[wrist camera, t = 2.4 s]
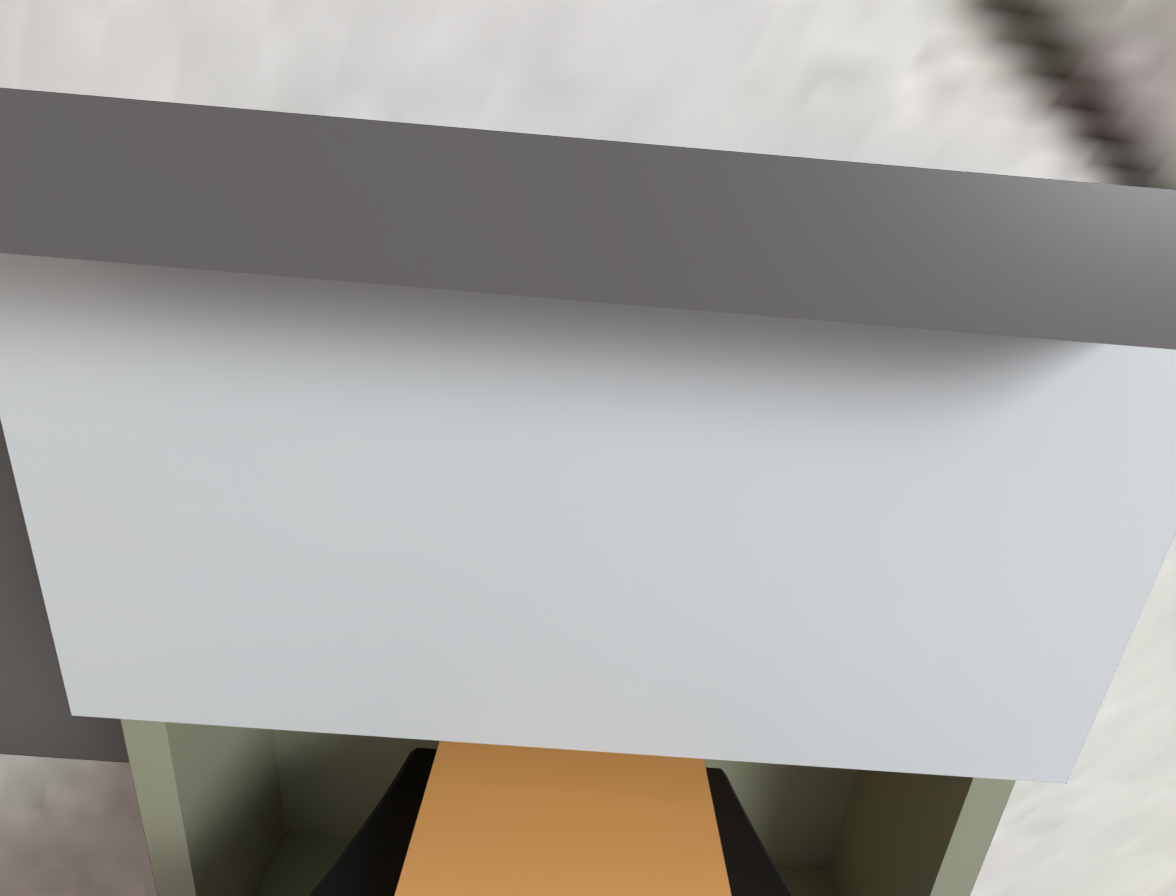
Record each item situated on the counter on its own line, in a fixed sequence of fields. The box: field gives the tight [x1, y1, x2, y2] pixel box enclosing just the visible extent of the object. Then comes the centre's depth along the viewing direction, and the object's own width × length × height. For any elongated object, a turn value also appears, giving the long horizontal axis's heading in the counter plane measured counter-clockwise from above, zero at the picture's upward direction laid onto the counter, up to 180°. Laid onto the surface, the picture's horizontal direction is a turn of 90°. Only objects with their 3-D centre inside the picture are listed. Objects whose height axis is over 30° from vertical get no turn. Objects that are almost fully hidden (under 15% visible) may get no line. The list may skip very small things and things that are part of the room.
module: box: [395, 741, 731, 896], centre depth 10 cm, size 4×4×5 cm
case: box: [121, 719, 1016, 896], centre depth 10 cm, size 13×12×3 cm
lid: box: [0, 88, 1176, 784], centre depth 6 cm, size 7×12×2 cm, turn 85°
